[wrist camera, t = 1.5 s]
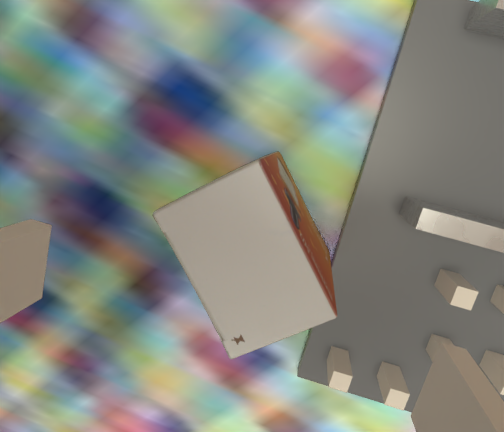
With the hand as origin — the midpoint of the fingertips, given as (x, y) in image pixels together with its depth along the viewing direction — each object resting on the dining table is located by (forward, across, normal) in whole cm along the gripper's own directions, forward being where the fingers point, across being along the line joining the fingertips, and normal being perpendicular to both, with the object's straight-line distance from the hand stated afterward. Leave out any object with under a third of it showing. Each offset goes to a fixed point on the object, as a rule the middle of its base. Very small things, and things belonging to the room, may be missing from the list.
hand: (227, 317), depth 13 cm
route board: (+15, +12, +3) cm, 20 cm away
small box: (+15, 0, 0) cm, 15 cm away
